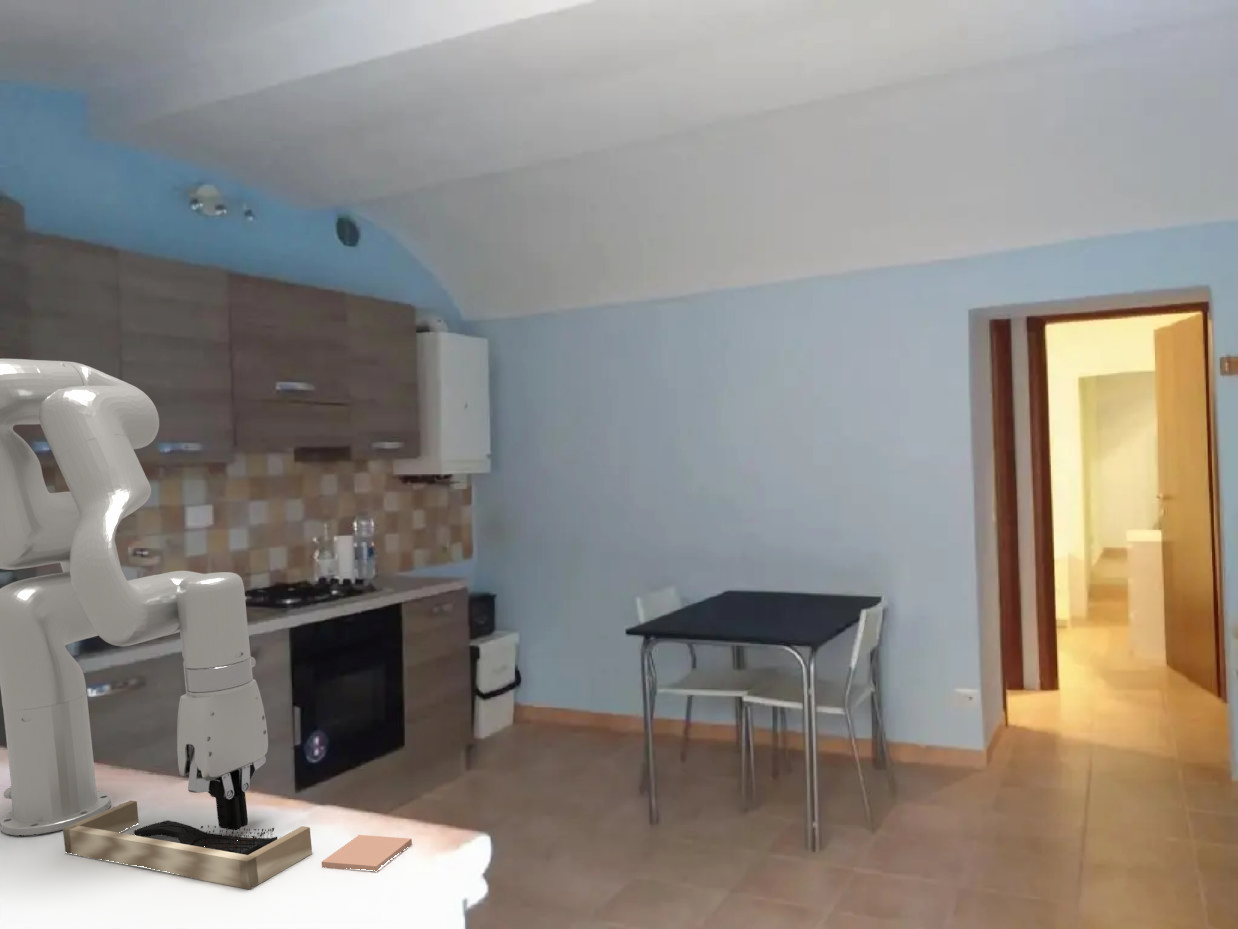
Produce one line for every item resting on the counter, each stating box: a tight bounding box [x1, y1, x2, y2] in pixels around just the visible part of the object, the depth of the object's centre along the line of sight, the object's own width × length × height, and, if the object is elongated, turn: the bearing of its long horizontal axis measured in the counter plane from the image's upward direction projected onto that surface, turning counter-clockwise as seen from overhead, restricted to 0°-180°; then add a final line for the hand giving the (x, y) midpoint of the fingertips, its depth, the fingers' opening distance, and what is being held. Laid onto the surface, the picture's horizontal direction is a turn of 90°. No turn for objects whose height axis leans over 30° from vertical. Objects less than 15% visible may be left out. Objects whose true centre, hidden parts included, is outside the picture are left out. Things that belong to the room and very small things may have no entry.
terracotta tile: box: [321, 834, 413, 871], centre depth 110 cm, size 7×7×1 cm
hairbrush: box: [133, 819, 278, 855], centre depth 116 cm, size 8×4×25 cm
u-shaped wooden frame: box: [62, 800, 313, 890], centre depth 114 cm, size 30×9×3 cm, turn 63°
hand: (233, 826), depth 119 cm, fingers closed
